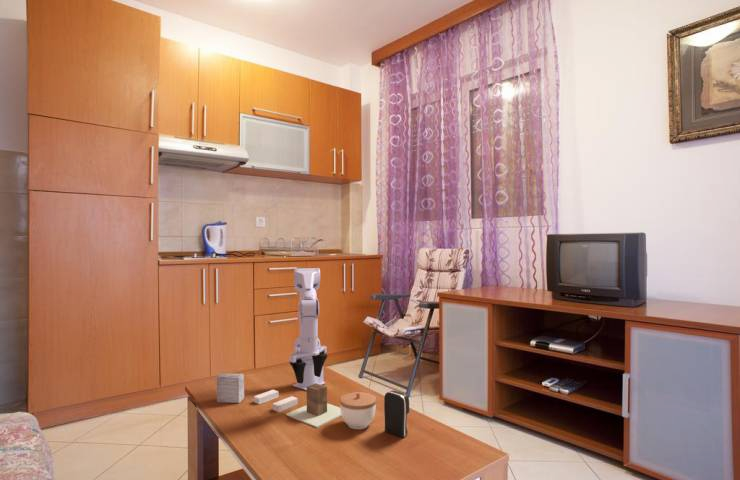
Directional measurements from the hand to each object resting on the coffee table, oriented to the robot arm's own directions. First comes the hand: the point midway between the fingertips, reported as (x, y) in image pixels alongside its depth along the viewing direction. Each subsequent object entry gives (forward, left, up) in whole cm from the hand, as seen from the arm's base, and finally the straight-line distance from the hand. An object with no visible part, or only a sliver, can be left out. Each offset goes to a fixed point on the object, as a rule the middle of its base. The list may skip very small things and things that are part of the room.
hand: (308, 379), depth 131 cm
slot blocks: (+3, -13, -10) cm, 16 cm away
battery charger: (-5, +31, -10) cm, 33 cm away
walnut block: (0, +4, -9) cm, 10 cm away
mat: (0, +4, -10) cm, 11 cm away
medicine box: (+11, -27, -10) cm, 31 cm away
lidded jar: (-2, +19, -10) cm, 22 cm away
